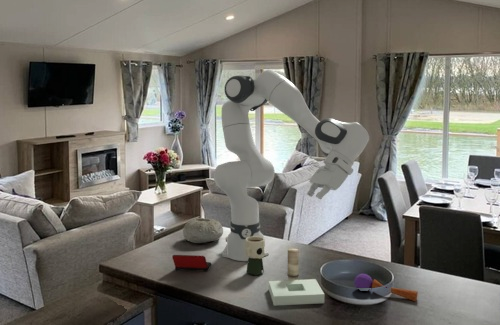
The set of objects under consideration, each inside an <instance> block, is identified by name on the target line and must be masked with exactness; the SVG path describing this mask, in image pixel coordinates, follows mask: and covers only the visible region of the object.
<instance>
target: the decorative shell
mask: <svg viewBox="0 0 500 325" xmlns="http://www.w3.org/2000/svg"><path fill="white" fill-rule="evenodd" d="M182 234H183V237H184V239H185V240H187V241H188V242H191V243H196V244H205V243H209V242H214V241H217V240H219V239H220V238H221V237H222V236H223V234H224V229H223V226H222V224H221V222H220V221H218V220H216V219H213V218H204V217H196V218H193V219H190V220H189V221H187V222H186V223H185V224H184V226H183V229H182Z"/></svg>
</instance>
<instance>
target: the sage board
mask: <svg viewBox="0 0 500 325" xmlns="http://www.w3.org/2000/svg"><path fill="white" fill-rule="evenodd" d="M268 291H269V295H270V298H271V301H272V305H273V306H274V307H275V306H276V307H277V306H292V305H311V304H312V305H313V304H325V293H324V291H323V289H322V288H321V286H320V285H319V283H318V280H317V279H316V278H310V279H298V280H288V279H287V280H268Z"/></svg>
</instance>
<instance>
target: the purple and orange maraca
mask: <svg viewBox="0 0 500 325" xmlns="http://www.w3.org/2000/svg"><path fill="white" fill-rule="evenodd" d="M353 284H354V287H355V289H356V288H371V289H372V288H375V287H380V286H384V285H383V284H382V283H380V282H379V281H378V280H376V279H375V278H374V279H372V277H371V276H370V275H368V274H366V273H360V274H358V275H356V277H355V278H354V280H353ZM390 293H391V294H394V295H396V296H400V297H401V298H405V299H407V300H409V301H413V302H415V303H416V302H417V299H418V294H419V293H418V291H417V290H411V289H404V288H396V287H391V292H390Z"/></svg>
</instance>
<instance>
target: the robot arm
mask: <svg viewBox="0 0 500 325" xmlns="http://www.w3.org/2000/svg"><path fill="white" fill-rule="evenodd" d="M301 92H302V91H300V89H299V88H298V87H297V86H296V85H295V84H294V83H293V82H292V81H291V80H290V79H288V78H287V77H285V76H284V75H282V74H280V73H278V72H277V71H275V70H272V69H266V70H263V71H262V72H261V73H260V74H259V75H258V76H257V77H256V78H253V77H252V76H250V75H233V76H231V77H229V78H228V79H227V80H226V82H225V85H224V94H225V96H226V98H227V99H228V101H226V102H224V103H223V105H222V107H221V125H222V132H223V138H224V139H223V140H224V144H225V147H226V149H227V150H228V151H229V152H230V153H233V154H235V155H236V156H237V157H238V159H239V160H235V161H227V162H223V163H220V164H218V165H217V166H216V167H215V169H214V173H213V180H214V182H215V185H216V186H217V187H218V188H219V189H220V190H222V191H223V192H224V194H226V196H227V198H228V200H229V203H230V204H229V205H230V213H231V214H230V215H231V218H230V219H231V221H230V226H229V227H230V233H229V234H228V235H227V236H225V242H226V243H227V244H226V245H225V246H224V247H225V248H224V250H223V252H222V254H221V257H224V258H227V259H231V260H233V261H237V262H248V259H249V257H247V256H246V249H245V239H246V238H247V237H252V236H259V237H263V238H264V239H265V236H264V234H263V232H261V221H260V204H259V203H258V200H257V199H256V198H254V197H252V196H249V195H248V188H249V189H250V188H257V187H258V188H259V187H262V186H265V185H268V184H271V182H272V181H273V180H274V179H275V178H274V177H275V174H276V173H275V172H276V171H275V167H274V165H273V163H272V162H271V161H270V160H268V159H267V158H265V157H264V156H263V155H262V154H261V152H260V151H259V149H258V148H257V146H256V145H255V142H254V138H253V134H252V130H251V125H250V124H251V123H250V119H249V113H250V111H251V112H255V111H256V110H257V109H259V108H261V107H262V106H264V105H266V104H267V102H269V103H270V104H271V105H272V106H273V107H274V108H275V109H276V110H278V111H280V112H282V113H283V114H284V115H286V116H287V117H288V118H290V119H291V120H292V121H294V123H296V124H297V125H299V126H300V127H301V128H302V129H303V130H304V131H305V132H307V134H309V136H310V137H311V138H313V139H314V140H315V142H316V143H317V144H318V146H319V149H320V151H321V153H322V154H323V156H326V157H325V159H324V160H323V163H324V165H321V166H320V167H318V168H317V170H316V171H315V172H314V173H313V175H312V176H311V177H310V179H309V183H310V184H311V185H310V187H309V190H308V191H307V193H306V195H307V196H308V197H313V196H314V195H315V192H316V190H317V189H318V188H321V189H320V191H318V192H317V194H316V195H315V197H316V198H317V199H319V200H322V199H323V198H324V196H326V195H327V194H328V193H329V192H330V191H337V190H338V189H339V188H340V187H341V186H342V185H343V183H344V182H345V181H346V180H347V178H348V176H351V175H352V174H353V172H354V169H353V168H352V167H353V165H354V163H355V160H356V159H357V158H358V157H360V155H361V154H362V152H363V151H364V150H365V148H366V146H367V145H368V143H369V141H370V134H369V131H368V130H367V129H366V128H365V126H363V124H361V123H359V122H357V121H353V122H345V121H344V122H343V121H339V120H336V119H334V118H330V117H329V118H328V117H327V118H324V119H321V120H319V119H318V118H317V117H316V116H315V115H314V114H313V113H312V112H311V110H310V108H309V107H308V105H307V103H306V100H305V98H304V96H303V93H301ZM264 250H265V255H264V257H267V256H268V255H270V253H269V251H268V250H267V249H266V248H265V247H264Z"/></svg>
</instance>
